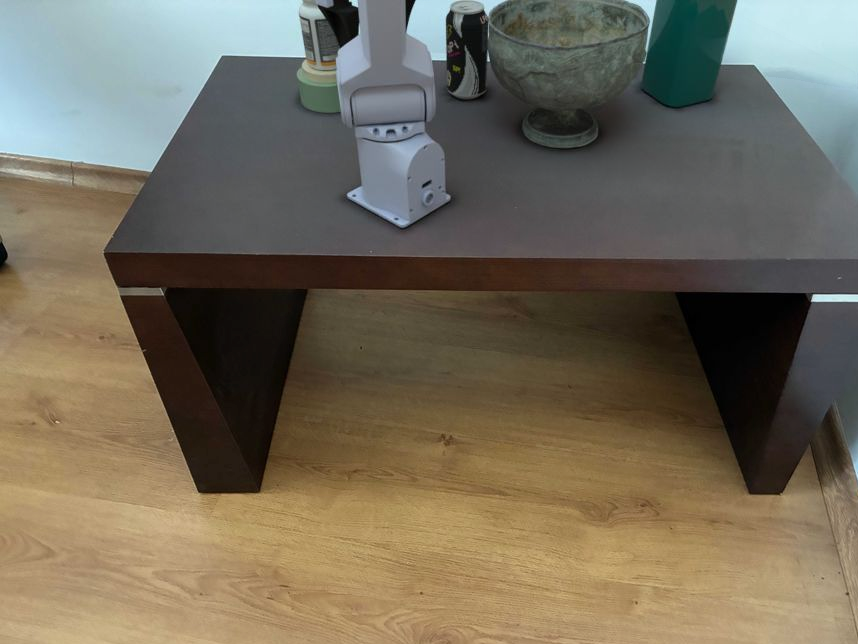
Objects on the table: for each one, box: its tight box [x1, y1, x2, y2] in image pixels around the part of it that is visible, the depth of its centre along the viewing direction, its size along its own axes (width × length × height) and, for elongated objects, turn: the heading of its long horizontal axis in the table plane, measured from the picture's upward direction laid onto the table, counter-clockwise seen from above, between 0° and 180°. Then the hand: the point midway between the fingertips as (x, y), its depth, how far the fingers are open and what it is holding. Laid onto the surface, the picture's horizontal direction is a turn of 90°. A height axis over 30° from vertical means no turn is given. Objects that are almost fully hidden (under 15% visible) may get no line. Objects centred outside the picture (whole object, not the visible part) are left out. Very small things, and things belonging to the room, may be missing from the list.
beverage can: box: [445, 0, 489, 100], centre depth 98 cm, size 6×6×12 cm
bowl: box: [487, 0, 651, 149], centre depth 90 cm, size 20×19×15 cm
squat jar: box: [296, 59, 341, 114], centre depth 99 cm, size 9×9×5 cm
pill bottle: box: [298, 0, 340, 70], centre depth 94 cm, size 6×6×10 cm
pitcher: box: [640, 0, 739, 108], centre depth 94 cm, size 10×8×22 cm
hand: (374, 52), depth 89 cm, fingers open, 7 cm apart
